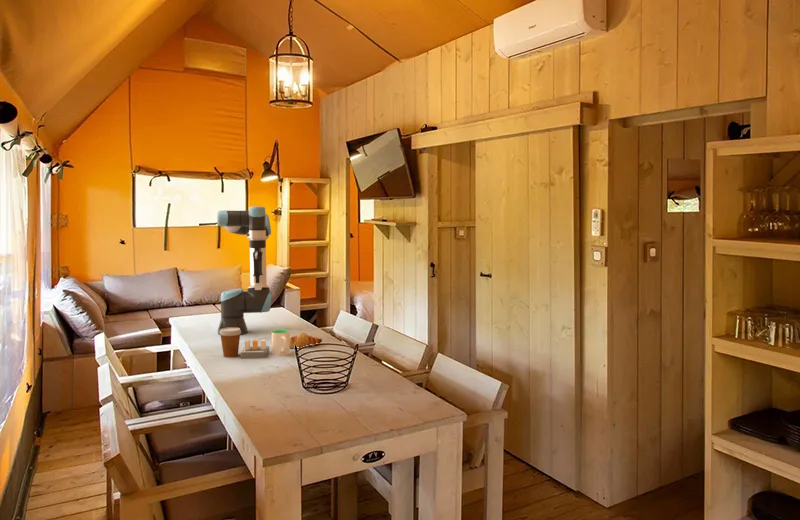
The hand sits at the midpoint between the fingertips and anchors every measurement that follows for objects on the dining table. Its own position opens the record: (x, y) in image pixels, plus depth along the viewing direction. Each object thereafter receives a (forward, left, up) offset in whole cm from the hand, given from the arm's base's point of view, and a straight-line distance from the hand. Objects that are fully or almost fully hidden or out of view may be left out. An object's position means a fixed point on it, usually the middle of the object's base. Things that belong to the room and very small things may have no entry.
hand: (258, 289), depth 278 cm
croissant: (-4, +19, -29) cm, 35 cm away
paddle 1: (+12, -4, -26) cm, 29 cm away
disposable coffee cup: (+12, -11, -29) cm, 33 cm away
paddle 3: (+12, +3, -26) cm, 29 cm away
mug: (+12, +12, -29) cm, 33 cm away
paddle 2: (+12, 0, -26) cm, 29 cm away
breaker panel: (+12, 0, -28) cm, 31 cm away
